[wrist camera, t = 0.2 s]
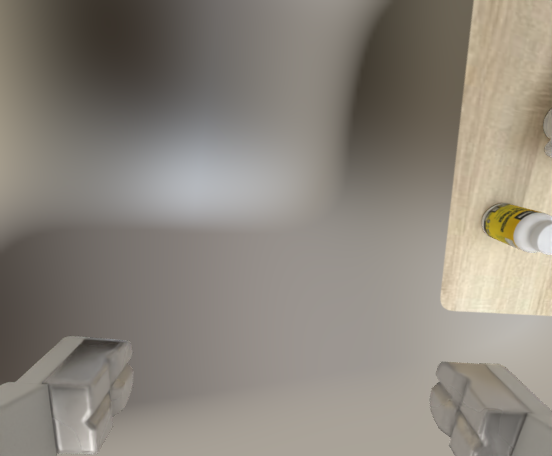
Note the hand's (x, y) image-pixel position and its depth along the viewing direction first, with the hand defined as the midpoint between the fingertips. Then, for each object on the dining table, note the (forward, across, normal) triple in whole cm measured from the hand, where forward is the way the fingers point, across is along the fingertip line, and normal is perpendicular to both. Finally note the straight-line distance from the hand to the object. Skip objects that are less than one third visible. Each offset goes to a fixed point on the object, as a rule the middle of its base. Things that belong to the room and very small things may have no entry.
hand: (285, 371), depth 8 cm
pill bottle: (+44, -39, +4) cm, 59 cm away
